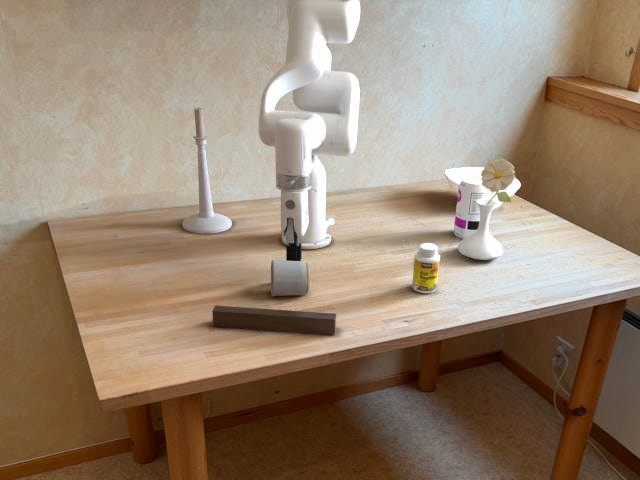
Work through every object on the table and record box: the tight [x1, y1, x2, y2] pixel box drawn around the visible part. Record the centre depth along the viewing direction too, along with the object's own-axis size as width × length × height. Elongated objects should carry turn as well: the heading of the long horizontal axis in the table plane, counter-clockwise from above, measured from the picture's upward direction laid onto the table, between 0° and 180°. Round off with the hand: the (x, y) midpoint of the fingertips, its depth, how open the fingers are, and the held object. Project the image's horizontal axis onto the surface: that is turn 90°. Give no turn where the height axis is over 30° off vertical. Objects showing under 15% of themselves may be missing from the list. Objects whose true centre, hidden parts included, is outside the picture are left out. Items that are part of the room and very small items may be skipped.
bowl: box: [444, 166, 521, 209], centre depth 205 cm, size 21×21×9 cm
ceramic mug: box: [270, 259, 311, 297], centre depth 149 cm, size 11×8×8 cm
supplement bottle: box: [411, 242, 441, 294], centre depth 152 cm, size 6×6×10 cm
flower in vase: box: [457, 157, 516, 261], centre depth 166 cm, size 13×11×25 cm
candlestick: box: [181, 106, 233, 235], centre depth 175 cm, size 13×13×30 cm
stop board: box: [211, 304, 337, 336], centre depth 135 cm, size 2×24×4 cm, turn 87°
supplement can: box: [453, 177, 490, 240], centre depth 181 cm, size 8×8×15 cm
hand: (293, 260), depth 156 cm, fingers closed
